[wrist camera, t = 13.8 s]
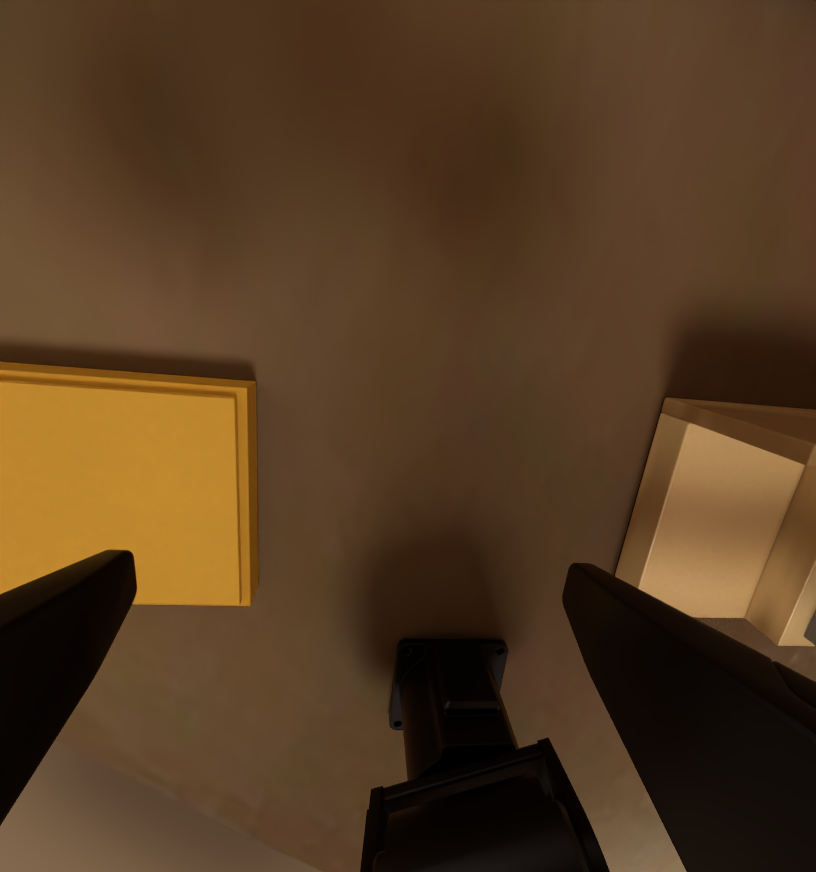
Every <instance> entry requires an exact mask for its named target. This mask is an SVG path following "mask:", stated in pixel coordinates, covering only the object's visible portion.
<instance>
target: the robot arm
mask: <svg viewBox="0 0 816 872" xmlns="http://www.w3.org/2000/svg"><path fill="white" fill-rule="evenodd" d="M136 593H137V579H136V570H135V561H134V556H133V553H132V552H131V551H129V550H113V549H109V550H105V551H102V552H100V553H98V554H95V555H93V556H90V557H88V558H86V559H83V560H81V561H78V562H76V563H74V564H71V565H69V566H66V567H64V568H62V569H59V570H57V571H54V572H52V573H50V574H47V575H45V576H42V577H40V578H38V579H35V580H33V581H30V582H28V583H26V584H23V585H21V586H18V587H16V588H14V589H11V590H9V591H6V592H4V593H2V594H0V825H1V824H2V822H3V821H4V819H5V817H6V816H7V814H8V813H9V811H10V809H11V808H12V806H13V805H14V803H15V802H16V800H17V799H18V797H19V795H20V794H21V792H22V791H23V789H24V787H25V786H26V784H27V783H28V781H29V780H30V778H31V777H32V775H33V773H34V772H35V770H36V769H37V767H38V766H39V764H40V762H41V761H42V759H43V758H44V756H45V755H46V753H47V751H48V750H49V748H50V747H51V745H52V744H53V742H54V740H55V739H56V737H57V736H58V734H59V733H60V731H61V729H62V728H63V726H64V725H65V723H66V722H67V720H68V718H69V717H70V715H71V714H72V712H73V711H74V709H75V707H76V706H77V704H78V703H79V701H80V700H81V698H82V696H83V695H84V693H85V692H86V690H87V689H88V687H89V685H90V684H91V682H92V680H93V679H94V677H95V675H96V674H97V672H98V670H99V668H100V666H101V664H102V662H103V661H104V659H105V657H106V655H107V653H108V651H109V649H110V647H111V645H112V643H113V641H114V639H115V637H116V635H117V633H118V631H119V629H120V627H121V625H122V623H123V621H124V619H125V617H126V615H127V613H128V611H129V609H130V607H131V605H132V603H133V601H134V599H135V596H136ZM562 600H563V606H564V609H565V611H566V614H567V617H568V619H569V622H570V625H571V627H572V630H573V633H574V635H575V638H576V640H577V643H578V646H579V648H580V651H581V654H582V656H583V659H584V662H585V664H586V666H587V669H588V671H589V674H590V676H591V678H592V680H593V682H594V684H595V686H596V688H597V691H598V693H599V695H600V697H601V699H602V701H603V703H604V705H605V707H606V709H607V711H608V713H609V715H610V717H611V719H612V721H613V723H614V725H615V727H616V729H617V731H618V733H619V735H620V737H621V739H622V741H623V743H624V745H625V747H626V749H627V751H628V753H629V755H630V758H631V760H632V762H633V764H634V766H635V768H636V770H637V772H638V774H639V776H640V778H641V780H642V782H643V784H644V786H645V788H646V790H647V792H648V794H649V796H650V798H651V800H652V802H653V804H654V806H655V808H656V810H657V812H658V814H659V816H660V818H661V820H662V823H663V825H664V827H665V829H666V831H667V833H668V835H669V837H670V839H671V841H672V843H673V845H674V847H675V849H676V851H677V853H678V855H679V857H680V859H681V861H682V863H683V865H684V867H685V869H686V871H687V872H816V682H815V681H813V680H811V679H809V678H807V677H805V676H803V675H801V674H799V673H797V672H795V671H794V670H792V669H790V668H788V667H786V666H784V665H782V664H780V663H778V662H776V661H773V662H772V660H771V659H770V658H769V657H767V656H765V655H763V654H761V653H759V652H757V651H756V650H754V649H752V648H750V647H748V646H746V645H744V644H742V643H740V642H738V641H737V640H735V639H733V638H731V637H729V636H727V635H725V634H723V633H721V632H720V631H718V630H716V629H714V628H712V627H710V626H708V625H706V624H704V623H703V622H701V621H699V620H697V619H695V618H693V617H691V616H689V615H687V614H685V613H684V612H682V611H680V610H678V609H676V608H674V607H672V606H670V605H668V604H667V603H665V602H663V601H661V600H659V599H657V598H655V597H653V596H651V595H650V594H648V593H646V592H644V591H642V590H640V589H638V588H636V587H634V586H632V585H631V584H629V583H627V582H625V581H623V580H621V579H619V578H617V577H615V576H614V575H612V574H610V573H608V572H606V571H604V570H602V569H600V568H598V567H597V566H595V565H593V564H589V563H573V564H572V565H571V566H570V567H569V570H568V574H567V578H566V582H565V586H564V590H563V596H562ZM404 648H409V649H406V650H405V649H404ZM499 648H501V649H499ZM497 649H499V650H497ZM507 654H508V648H507V645H506V643H505V642H504V641H503V640H492V639H403V640H401V641H400V642H399V643H398V645H397V653H396V662H395V671H394V680H393V689H392V698H391V707H390V716H389V722H390V727H391V728H392V729H394V730H403V732H404V744H405V755H406V767H407V778H408V781H406V782H403V783H399V784H396V785H392V786H389V787H386V788H383V786H381V787H377V788H374V789H371V795H370V804H369V809H367V816H366V825H365V834H364V843H363V852H362V861H361V870H360V872H610V871H609V869H608V866H607V863H606V861H605V858H604V856H603V853H602V851H601V848H600V846H599V843H598V841H597V838H596V836H595V834H594V831H593V829H592V827H591V824H590V822H589V820H588V818H587V816H586V813H585V811H584V809H583V807H582V805H581V803H580V801H579V799H578V797H577V795H576V793H575V791H574V789H573V787H572V785H571V783H570V781H569V779H568V777H567V774H566V772H565V770H564V768H563V766H562V764H561V762H560V760H559V758H558V756H557V754H556V752H555V750H554V748H553V746H552V744H551V742H550V740H549V738H545V739H541V740H538V743H536V744H533V745H529V746H526V747H522V748H519V747H518V744H517V741H516V738H515V736H514V733H513V730H512V727H511V724H510V721H509V718H508V715H507V712H506V709H505V706H504V704H503V701H502V698H501V695H500V688H501V683H502V678H503V674H504V669H505V664H506V659H507Z"/></svg>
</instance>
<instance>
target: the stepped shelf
mask: <svg viewBox="0 0 816 872" xmlns="http://www.w3.org/2000/svg"><path fill="white" fill-rule="evenodd" d="M661 412H662V413H661V414H660V418H659V421H658V425H657V428H656V432H655V435H654V439H653V442H652V446H651V450H650V453H649V457H648V460H647V464H646V467H645V471H644V474H643V478H642V481H641V485H640V488H639V492H638V496H637V499H636V503H635V506H634V510H633V513H632V517H631V520H630V524H629V527H628V531H627V534H626V538H625V541H624V545H623V549H622V552H621V556H620V559H619V563H618V566H617V570H616V573H615V577H617V578H619V579H621V580H623V581H625V582H627V583H629V584H631V585H632V586H634V587H636V588H638V589H640V590H642V591H644V592H646V593H648V594H650V595H651V596H653V597H655V598H657V599H659V600H661V601H663V602H665V603H667V604H668V605H670V606H672V607H674V608H676V609H678V610H680V611H682V612H684V613H685V614H687V615H689V616H691V617H706V618H745V619H746V620H748V621H749V622H750V623H751V624H752V625H754V626H755V627H756V628H757V629H758V630H760V631H761V632H762V633H763V634H764V635H766V636H767V637H768V638H769V639H770V640H772V641H773V642H774V643H775V644H776V645H778V646H815V645H814V644H813V643H811V642H810V641H809V640H807V639H806V638H805V637H804V635H805V632H806V630H807V628H808V626H809V624H810V622H811V619H812V617H813V615H814V613H815V611H816V410H814V409H802V408H790V407H778V406H766V405H753V404H741V403H729V402H717V401H704V400H692V399H680V398H668V397H667V398H665V400H664V404H663V407H662V411H661Z"/></svg>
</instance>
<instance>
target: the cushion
mask: <svg viewBox="0 0 816 872" xmlns="http://www.w3.org/2000/svg"><path fill="white" fill-rule="evenodd" d="M109 549H113V550H129V551H131V552H132V553H133V556H134V561H135V570H136V579H137V593H136V596H135V599H134V601H133V603H132V604H152V605H219V606H250V605H251V603H252V601H253V598H254V595H255V593H256V590H257V588H258V507H257V404H256V382H255V381H244V380H231V379H218V378H206V377H193V376H180V375H167V374H154V373H141V372H128V371H115V370H102V369H89V368H76V367H63V366H50V365H37V364H24V363H11V362H0V594H2V593H4V592H6V591H9V590H11V589H14V588H16V587H18V586H21V585H23V584H26V583H28V582H30V581H33V580H35V579H38V578H40V577H42V576H45V575H47V574H50V573H52V572H54V571H57V570H59V569H62V568H64V567H66V566H69V565H71V564H74V563H76V562H78V561H81V560H83V559H86V558H88V557H90V556H93V555H95V554H98V553H100V552H102V551H105V550H109Z"/></svg>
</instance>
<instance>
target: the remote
mask: <svg viewBox="0 0 816 872" xmlns="http://www.w3.org/2000/svg"><path fill="white" fill-rule="evenodd" d="M804 637H805V638H806V639H807V640H809V641H810V642H811V643H813V644H814V645H815V646H816V611H815V613H814V615H813V617H812V619H811V622H810V624H809V626H808V628H807V630H806V632H805V635H804Z"/></svg>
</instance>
